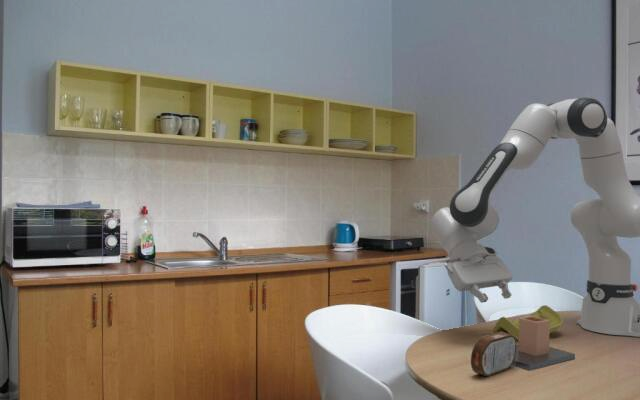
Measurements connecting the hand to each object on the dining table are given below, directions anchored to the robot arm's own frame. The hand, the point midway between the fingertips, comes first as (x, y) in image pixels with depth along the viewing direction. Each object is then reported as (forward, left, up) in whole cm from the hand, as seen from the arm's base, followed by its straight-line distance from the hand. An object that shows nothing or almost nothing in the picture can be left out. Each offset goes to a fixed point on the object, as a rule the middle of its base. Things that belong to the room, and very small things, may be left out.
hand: (497, 299), depth 144 cm
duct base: (+2, +12, -12) cm, 17 cm away
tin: (+19, +15, -12) cm, 27 cm away
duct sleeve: (+1, +12, -11) cm, 16 cm away
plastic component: (-17, -1, -12) cm, 21 cm away
